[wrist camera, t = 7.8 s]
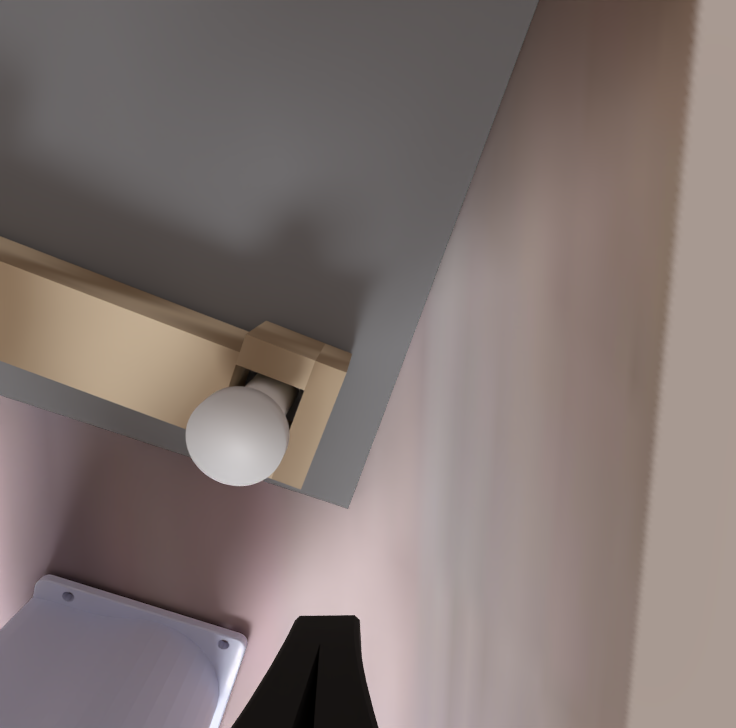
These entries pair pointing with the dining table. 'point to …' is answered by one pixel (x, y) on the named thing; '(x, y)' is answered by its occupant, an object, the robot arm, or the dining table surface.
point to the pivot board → (252, 186)
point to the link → (155, 349)
